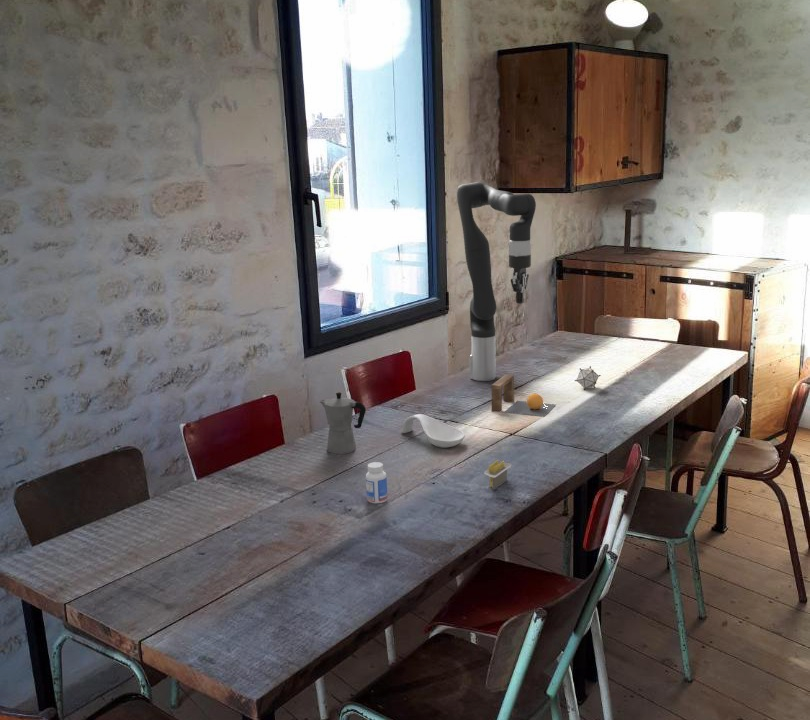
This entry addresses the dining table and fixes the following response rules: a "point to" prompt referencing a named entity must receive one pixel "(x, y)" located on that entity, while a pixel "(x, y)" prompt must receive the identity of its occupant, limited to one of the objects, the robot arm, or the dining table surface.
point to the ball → (534, 401)
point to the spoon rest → (435, 431)
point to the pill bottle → (376, 483)
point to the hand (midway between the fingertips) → (519, 303)
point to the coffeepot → (341, 423)
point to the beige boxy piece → (497, 473)
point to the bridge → (497, 392)
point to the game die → (587, 378)
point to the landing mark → (528, 409)
